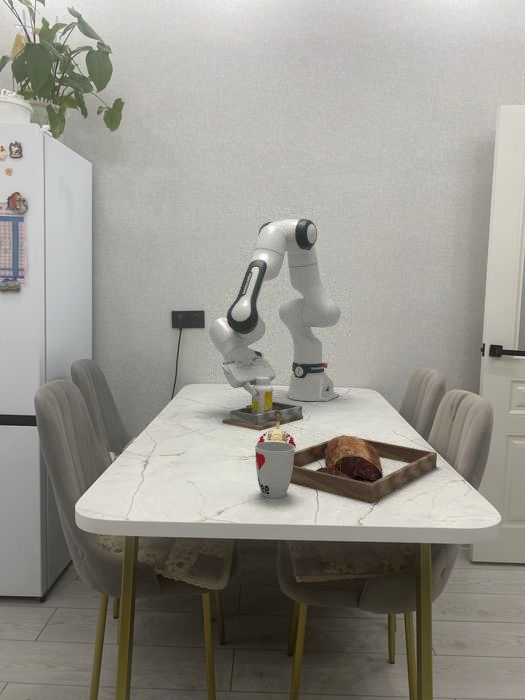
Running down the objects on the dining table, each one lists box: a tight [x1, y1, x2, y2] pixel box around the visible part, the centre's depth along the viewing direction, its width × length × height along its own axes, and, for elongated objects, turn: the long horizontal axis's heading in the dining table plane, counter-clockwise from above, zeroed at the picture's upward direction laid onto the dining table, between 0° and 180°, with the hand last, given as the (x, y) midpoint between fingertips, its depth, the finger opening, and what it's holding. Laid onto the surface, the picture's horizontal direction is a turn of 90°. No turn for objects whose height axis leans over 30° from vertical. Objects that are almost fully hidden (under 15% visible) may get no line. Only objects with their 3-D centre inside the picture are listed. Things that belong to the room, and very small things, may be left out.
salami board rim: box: [290, 434, 438, 504], centre depth 140 cm, size 33×26×4 cm
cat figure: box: [256, 414, 297, 452], centre depth 157 cm, size 10×9×25 cm
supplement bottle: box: [251, 377, 274, 415], centre depth 191 cm, size 7×7×13 cm
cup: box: [254, 441, 296, 499], centre depth 123 cm, size 8×8×10 cm
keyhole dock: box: [221, 401, 304, 431], centre depth 192 cm, size 23×15×4 cm, turn 142°
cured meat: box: [315, 435, 384, 482], centre depth 138 cm, size 18×25×7 cm
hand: (263, 393), depth 190 cm, fingers closed on supplement bottle, 7 cm apart
